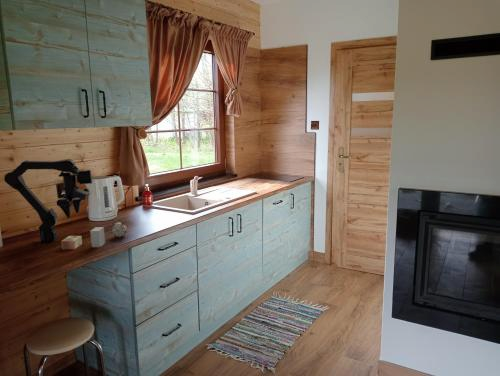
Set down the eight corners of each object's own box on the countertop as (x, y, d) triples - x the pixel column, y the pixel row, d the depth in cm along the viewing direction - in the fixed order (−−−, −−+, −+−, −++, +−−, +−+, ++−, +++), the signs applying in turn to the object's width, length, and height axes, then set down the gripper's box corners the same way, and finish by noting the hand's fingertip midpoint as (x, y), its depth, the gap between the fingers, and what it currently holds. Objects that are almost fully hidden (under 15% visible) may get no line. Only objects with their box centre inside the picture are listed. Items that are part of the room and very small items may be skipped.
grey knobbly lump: (119, 242, 211) (119, 224, 216) (131, 238, 208) (132, 220, 212) (105, 239, 204) (106, 220, 208) (118, 234, 201) (119, 215, 205)
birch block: (61, 241, 192) (69, 235, 199) (62, 249, 192) (70, 243, 200) (73, 241, 191) (81, 235, 199) (74, 249, 192) (82, 243, 200)
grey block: (100, 247, 194) (98, 231, 193) (91, 247, 195) (90, 231, 193) (105, 242, 200) (103, 227, 199) (97, 242, 201) (95, 227, 199)
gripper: (77, 188, 193) (80, 220, 196) (94, 181, 211) (96, 210, 214) (54, 188, 193) (58, 220, 197) (72, 181, 212) (75, 210, 215)
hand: (73, 215), depth 206 cm, fingers open, 9 cm apart
